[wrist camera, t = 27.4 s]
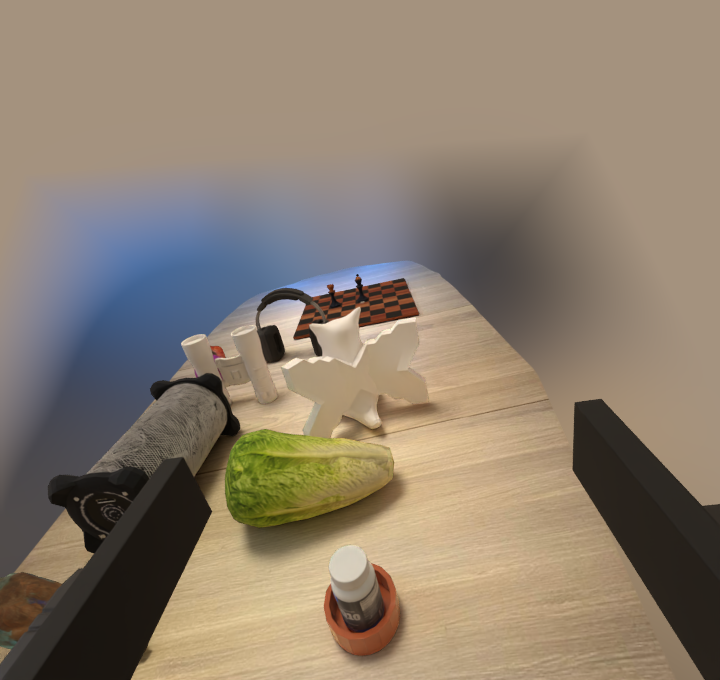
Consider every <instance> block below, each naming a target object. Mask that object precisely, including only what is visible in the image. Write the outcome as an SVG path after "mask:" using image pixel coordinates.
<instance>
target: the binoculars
mask: <svg viewBox="0 0 720 680" xmlns="http://www.w3.org/2000/svg"><path fill="white" fill-rule="evenodd" d="M231 336H232V338H233V340H234V343H235V346H236V348H237V350H238V352H239V353H240V355H238V356H235V357H230V358H216V359H215V362H216V364H215V362H214V358H213V354H212V350H211V347H210V345H209V343H208V340H207V338H206V335H204V334H200V335H195V336H192V337H190V338H187V339H186V340H184V341H183V342H182V343H181V345H182V347H183V349H184V352H185V354H186V356H187V358H188V360H189V361H190V363H191V364H192V366H193V367H194V369H195V371H196V373H197V375H198V377H199V376H201V375H203V374H205V373H213V374H214V375H216V376H218V377H219V378H220V379H221V381H222V378H223V380H224V381H222V388H223V393H224V395H225V396H226V398H227V399H228V402H229V404H230V405H231V404H232V402H231V399H230V395H229V393H228V391H227V390H226V387H228V386H230V385H240V384H245V383H247V382H249V381H252V384H253V387H254V390H255V394H256V397H257V398H258V400H259V403H261V404H267V403H270V402H272V401H274V400H275V399H276V398H277V397H278V394H277V391H276V387H275V384H274V383H273V380H272V378H271V375H270V372H269V370H268V367H267V363H266V361H265V358H264V356H263V353H262V347H261V342H260V339H259V336H258V333H257V330H256V327H255V326H254V325H247V326H243V327H240V328H238V329H236V330H234V331H233V332H232V333H231ZM217 368H219V371H220V373H221V375H222V378H221V376H220V374H219V371H218V369H217Z"/></svg>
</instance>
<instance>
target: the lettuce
mask: <svg viewBox="0 0 720 680" xmlns="http://www.w3.org/2000/svg"><path fill="white" fill-rule="evenodd" d="M393 468H394V461H393V457H392V454H391V450H390V448H389V447H385V446H382V445H377V444H370V443H364V442H360V441H355V440H351V439H346V438H321V437H315V436H308V435H293V434H286V433H279V432H275V431H271V430H267V429H264V430H260V431H255V432H251V433H247V434H245V435H242V436H241V438H240V439H239V440H238V441H237V442H236V443H235V445H234V446H233V448H232V450H231V452H230V456H229V460H228V464H227V468H226V474H225V495H226V501H227V507H228V509H229V511H230V512H231V514H232V516H233V518H234V519H235V520H236V521H238V522H239V523H243V524H247V525H250V526H254V527H258V528H262V527H269V526H275V525H281V524H284V523H288V522H292V521H297V520H303V519H308V518H311V517H315V516H318V515H321V514H324V513H327V512H330V511H333V510H336V509H339V508H342V507H345V506H348V505H351V504H353V503H355V502H357V501H359V500H361V499H363V498H365V497H367V496H368V495H370V494H372V493H374V492H375V491H377V490H379V489H380V488H382V487H384V486H385V485H386V484H387V483H388V482H389V481H391V480H392V478H393Z"/></svg>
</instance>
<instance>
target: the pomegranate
mask: <svg viewBox="0 0 720 680" xmlns="http://www.w3.org/2000/svg"><path fill="white" fill-rule="evenodd" d="M210 347H211V350H212V354H213V355H216V356H219V357H221V358H226V357H225V354H224V352H223V350H222V348H221V347H219V346H210Z"/></svg>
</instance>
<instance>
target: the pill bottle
mask: <svg viewBox="0 0 720 680" xmlns="http://www.w3.org/2000/svg"><path fill="white" fill-rule="evenodd" d="M329 572H330V575H331V588H332V591H333V594H334V596H335V599H336V601H337V604H338V607H339V609H340V612H341V615H342V617H343V620H344V622H345V624H346V626H347V627H348V628H349V629H350V630H351V631H352V632H354V633H363V632H365V631H367V630H369V629H371V628H373V627H375V626H376V625H377V624H378V623H379V622H380V621H381V620H382V619H383V616H384V602H383V598H382V594H381V591H380V587H379V584H378V581H377V577H376V574H375V570H374V568H373V565H372V564H371V563H370V561H369V560H368V559H367V556H366V554H365V552H364V551H363V550H362V549H361V548H360V547H358V546H355V545H346V546H343V547H341V548H339V549H338V550H337V551H336V552H335V553H334V554H333V555H332V557H331V559H330V562H329Z"/></svg>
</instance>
